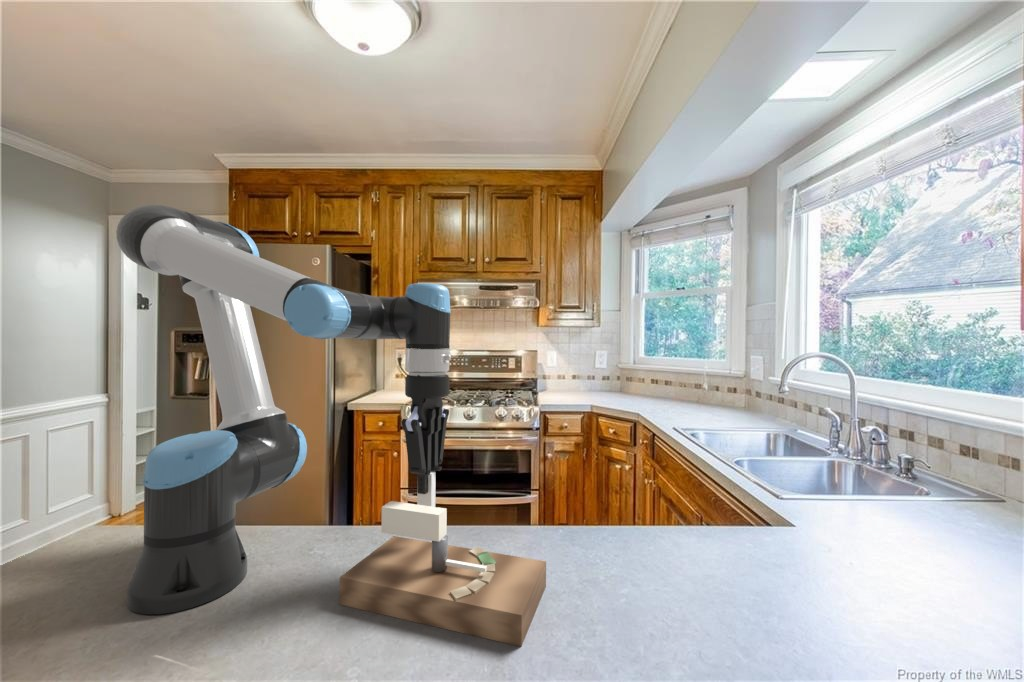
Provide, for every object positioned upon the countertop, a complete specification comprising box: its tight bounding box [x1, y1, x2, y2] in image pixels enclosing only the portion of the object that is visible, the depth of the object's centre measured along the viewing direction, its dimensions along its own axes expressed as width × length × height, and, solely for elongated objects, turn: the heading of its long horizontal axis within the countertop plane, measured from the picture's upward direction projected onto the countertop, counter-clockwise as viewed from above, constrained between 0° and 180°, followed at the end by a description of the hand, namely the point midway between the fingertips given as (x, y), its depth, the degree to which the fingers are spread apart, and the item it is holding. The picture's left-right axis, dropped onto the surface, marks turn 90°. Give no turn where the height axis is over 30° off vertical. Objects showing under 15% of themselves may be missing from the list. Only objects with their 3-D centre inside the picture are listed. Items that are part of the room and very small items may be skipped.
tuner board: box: [339, 535, 547, 647], centre depth 65 cm, size 28×14×4 cm, turn 72°
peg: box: [381, 500, 487, 572], centre depth 65 cm, size 17×3×9 cm, turn 73°
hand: (426, 509), depth 73 cm, fingers closed
